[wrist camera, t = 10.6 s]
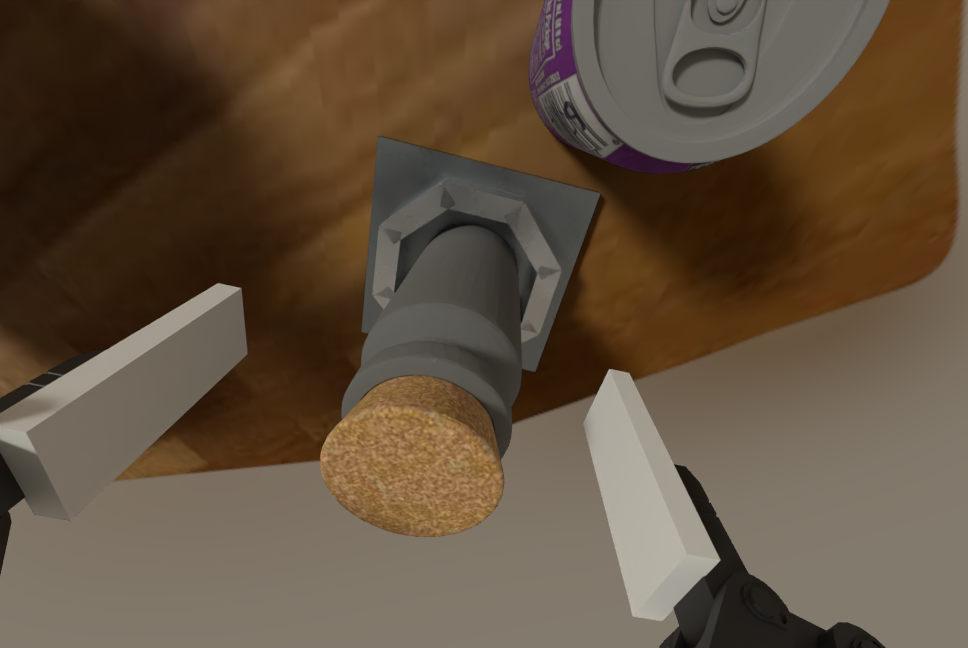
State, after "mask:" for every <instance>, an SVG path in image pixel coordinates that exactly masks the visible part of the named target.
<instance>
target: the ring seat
mask: <svg viewBox="0 0 968 648" xmlns="http://www.w3.org/2000/svg"><path fill="white" fill-rule="evenodd" d="M599 196H600V193H599V192H598V191H594V190H590V189H586V188H582V187H578V186H574V185H570V184H566V183H563V182H559V181H555V180H551V179H547V178H543V177H539V176H535V175H532V174H528V173H524V172H520V171H516V170H512V169H508V168H504V167H500V166H497V165H493V164H489V163H485V162H481V161H477V160H473V159H469V158H465V157H462V156H458V155H454V154H450V153H446V152H442V151H438V150H434V149H430V148H427V147H423V146H419V145H415V144H411V143H407V142H403V141H399V140H395V139H392V138H388V137H384V136H378V141H377V153H376V165H375V177H374V189H373V200H372V212H371V224H370V236H369V248H368V260H367V271H366V283H365V295H364V307H363V319H362V331H361V332H364V333H368V334H369V333H370V331H371V329H372V327H373V325H374V324H375V322H376V321H377V319H378V318H379V316H380V315H381V313H382V312H383V310H384V309H385V307H386V306H387V304H388V303H389V301H390V300H391V298H392V297H393V295H394V294H395V292H396V291H397V289H398V288H399V286H400V285H401V283H402V282H403V280H404V279H405V277H406V276H407V274H408V273H409V271H410V270H411V269H412V267H413V266H414V264H415V263H416V261H417V260H418V258H419V257H420V255H421V254H422V252H423V251H424V250H425V248H426V247H427V246H428V244H429V243H430V242H431V241H432V240H433V239H434V238H435V237H436V236H437V235H438V234H439V233H441V232H442V231H444V230H446V229H448V228H451V227H454V226H458V225H465V224H469V225H477V226H482V227H485V228H488V229H490V230H492V231H493V232H495V233H497V234H498V235H499V236H501V237H502V238H503V239H504V240H505V241H506V242H507V243H508V245H509V246H510V248H511V249H512V251H513V253H514V256H515V258H516V262H517V266H518V277H519V295H520V318H521V344H522V369H525V370H529V371H534V372H535V371H536V368H537V366H538V363H539V360H540V358H541V355H542V352H543V349H544V347H545V344H546V341H547V338H548V336H549V333H550V330H551V327H552V325H553V322H554V319H555V317H556V314H557V311H558V308H559V306H560V303H561V300H562V297H563V295H564V292H565V289H566V286H567V284H568V281H569V278H570V276H571V273H572V270H573V267H574V265H575V262H576V259H577V256H578V254H579V251H580V248H581V245H582V243H583V240H584V237H585V234H586V232H587V229H588V226H589V224H590V221H591V218H592V215H593V213H594V210H595V207H596V204H597V202H598V199H599Z"/></svg>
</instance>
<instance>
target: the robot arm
mask: <svg viewBox="0 0 968 648" xmlns="http://www.w3.org/2000/svg"><path fill="white" fill-rule="evenodd" d="M247 354H248V353H247V342H246V332H245V321H244V311H243V300H242V290H241V288H238V287H234V286H229V285H224V284H220V283H218V284H216V285H214V286H213V287H211V288H209V289H208V290H206V291H204V292H202V293H201V294H199V295H197V296H196V297H194V298H192V299H191V300H189V301H187V302H186V303H184V304H182V305H181V306H179V307H177V308H176V309H174V310H172V311H171V312H169V313H167V314H166V315H164V316H162V317H161V318H159V319H157V320H156V321H154V322H152V323H151V324H149V325H147V326H146V327H144V328H142V329H140V330H139V331H137V332H135V333H134V334H132V335H130V336H129V337H127V338H125V339H124V340H122V341H120V342H119V343H117V344H115V345H114V346H112V347H110V348H109V349H107V350H100V349H97V350H94V351H91V352H88V353H85V354H82V355H79V356H76V357H73V358H70V359H68V360H67V361H65V362H63V363H61V364H60V365H58V366H56V367H54V368H53V369H51V370H49V371H48V373H47V374H42V375H40V376H38V377H37V378H35V379H33V380H31V381H30V382H29V384H28V385H23V386H21V387H19V388H17V389H16V390H14V391H12V392H10V393H8V394H7V395H5V396H3V397H1V398H0V574H1V569H2V565H3V560H4V555H5V550H6V545H7V541H8V536H9V531H10V526H11V518H10V514H9V512H8V510H10V508H12V507H13V506H15V505H16V504H17V503H18V502H20V501H21V500H22V499H23V498H25V500H26V502H27V503H28V505H29V507H30V508H31V510H32V512H33V514H34V515H39V516H45V517H51V518H56V519H62V520H69V521H71V520H72V519H73V518H74V517H75V516H77V514H79V513H80V512H81V511H82V510H83V509H84V508H85V507H86V506H87V505H88V504H89V503H90V502H91V501H92V500H93V499H94V498H96V496H98V495H99V494H100V493H101V492H102V491H103V490H104V489H105V488H106V487H107V486H108V485H109V484H110V483H111V482H113V481H114V480H115V479H116V478H117V477H118V476H119V475H120V474H121V473H122V472H123V471H124V470H125V469H126V468H127V467H128V466H129V465H131V464H132V463H133V462H134V461H135V460H136V459H137V458H138V457H139V456H140V455H141V454H142V453H143V452H144V451H145V450H146V449H148V448H149V447H150V446H151V445H152V444H153V443H154V442H155V441H156V440H157V439H158V438H159V437H160V436H161V435H162V434H163V433H164V432H166V431H167V430H168V429H169V428H170V427H171V426H172V425H173V424H174V423H175V422H176V421H177V420H178V419H179V418H180V417H181V416H182V415H184V414H185V413H186V412H187V411H188V410H189V409H190V408H191V407H192V406H193V405H194V404H195V403H196V402H197V401H198V400H199V399H200V398H202V397H203V396H204V395H205V394H206V393H207V392H208V391H209V390H210V389H211V388H212V387H213V386H214V385H215V384H216V383H217V382H219V381H220V380H221V379H222V378H223V377H224V376H225V375H226V374H227V373H228V372H229V371H230V370H231V369H232V368H233V367H234V366H235V365H237V364H238V363H239V362H240V361H241V360H242V359H243V358H244V357H245V356H246V355H247ZM583 426H584V430H585V434H586V438H587V442H588V445H589V449H590V453H591V457H592V461H593V464H594V469H595V472H596V476H597V480H598V484H599V488H600V492H601V495H602V499H603V503H604V507H605V511H606V514H607V519H608V523H609V526H610V530H611V534H612V538H613V542H614V546H615V550H616V553H617V557H618V561H619V565H620V569H621V572H622V577H623V580H624V584H625V588H626V592H627V596H628V600H629V603H630V607H631V611H632V615H633V616H635V617H640V618H646V619H652V620H658V621H663V620H664V619H665V617H667V616H668V614H669V613H670V612H671V611H672V610H673V609H674V611H675V614H676V617H677V620H678V623H679V627H678V628H677V629H676V630H675V631H674V632H673V633H672V634H671V635H670V636H669V637H668V638H667V639H666V640H664V642H663V643H662V644H661V645H660V648H667V647H668V648H885V647H884V646H883V645H882V644H881V643H880V642H879V641H878V640H877V639H876V638H874V637H873V636H871V635H870V634H869V633H867V632H866V631H864V630H863V629H861V628H860V627H857V626H855V625H852V624H850V623H841V622H839V623H837V624H836V625H834V626H833V627H831V628H830V629H828V630H827V631H826V630H824V629H822V628H820V627H818V626H816V625H814V624H812V623H810V622H808V621H806V620H804V619H802V618H800V617H798V616H796V615H794V614H792V613H790V612H789V610H788V608H787V606H786V605H785V604H784V603H783V602H782V600H781V599H780V597H779V596H778V595H777V594H776V593H775V592H774V591H773V590H772V589H771V588H770V587H769V586H767V584H765V583H764V582H763V581H761V580H759V579H758V578H756V577H754V576H753V575H750V574H749V573H748V572H747V570H746V568H745V566H744V565H743V563H742V561H741V559H740V557H739V555H738V553H737V551H736V549H735V548H734V546H733V544H732V542H731V540H730V538H729V536H728V535H727V533H726V531H725V529H724V527H723V525H722V523H721V522H720V519H719V518H718V517H716V512H715V510H714V508H713V507H712V505H711V503H709V499H708V497H707V495H706V493H705V491H704V490H703V488H702V486H701V484H700V482H699V481H698V480H697V479H696V478H695V477H694V476H693V475H692V474H691V472H690V471H689V470H688V469H687V468H686V467H685V466H679V465H675V464H673V462H672V460H671V458H670V456H669V454H668V452H667V450H666V448H665V446H664V443H663V441H662V439H661V437H660V435H659V433H658V431H657V429H656V427H655V425H654V423H653V421H652V419H651V417H650V415H649V413H648V411H647V409H646V407H645V404H644V402H643V400H642V398H641V396H640V394H639V392H638V390H637V389H636V386H635V384H634V382H633V380H632V378H631V376H630V374H629V373H626V372H622V371H617V370H613V369H609V370H608V372H607V375H606V377H605V379H604V381H603V383H602V385H601V387H600V389H599V391H598V393H597V395H596V397H595V399H594V401H593V403H592V406H591V407H590V410H589V412H588V414H587V416H586V418H585V420H584V422H583Z"/></svg>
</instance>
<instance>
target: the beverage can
mask: <svg viewBox="0 0 968 648" xmlns="http://www.w3.org/2000/svg"><path fill="white" fill-rule="evenodd" d="M889 2H890V0H544V4H543V8H542V11H541V15H540V18H539V22H538V26H537V29H536V33H535V37H534V40H533V44H532V48H531V54H530V61H529V84H530V90H531V95H532V99H533V102H534V105H535V108H536V110H537V113H538V115H539V117H540V118H541V120H542V122H543V123H544V124H545V126H546V127H547V128H548V129H549V131H550V132H551V133H552V134H553V135H554V136H556V137H557V138H558V139H559V140H561V141H562V142H564V143H566V144H567V145H570V146H572V147H574V148H576V149H579V150H581V151H583V152H586V153H588V154H590V155H593V156H595V157H597V158H600V159H602V160H604V161H607V162H609V163H611V164H614V165H617V166H619V167H622V168H625V169H628V170H632V171H636V172H642V173H650V174H672V173H680V172H686V171H691V170H695V169H698V168H702V167H705V166H708V165H710V164H713V163H715V162H718V161H720V160H722V159H726V158H730V157H733V156H736V155H740V154H742V153H745V152H747V151H750V150H752V149H754V148H757V147H759V146H761V145H763V144H765V143H767V142H768V141H770V140H772V139H774V138H775V137H777V136H779V135H780V134H782V133H783V132H785V131H786V130H788V129H789V128H791V127H792V126H793V125H795V124H796V123H798V122H799V121H800V120H801V119H803V118H804V117H805V116H806V115H808V114H809V113H810V112H811V111H812V110H813V109H814V108H815V107H816V106H818V105H819V104H820V103H821V102H822V101H823V100H824V99H825V98H826V97H827V96H828V95H829V94H830V92H831V91H832V90H833V89H834V88H835V87H836V86H837V85H838V84H839V82H840V81H841V80H842V79H843V78H844V76H845V75H846V74H847V73H848V71H849V70H850V69H851V67H852V66H853V65H854V63H855V62H856V61H857V59H858V58H859V56H860V55H861V53H862V52H863V50H864V49H865V47H866V46H867V44H868V42H869V41H870V39H871V37H872V35H873V34H874V32H875V30H876V28H877V27H878V25H879V23H880V21H881V19H882V17H883V15H884V13H885V10H886V8H887V6H888V4H889Z"/></svg>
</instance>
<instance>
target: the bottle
mask: <svg viewBox="0 0 968 648" xmlns="http://www.w3.org/2000/svg"><path fill="white" fill-rule="evenodd" d="M521 377H522V344H521V318H520V295H519V277H518V266H517V262H516V258H515V256H514V253H513V251H512V249H511V248H510V246H509V245H508V243H507V242H506V241H505V240H504V239H503V238H502V237H501V236H499V235H498V234H497V233H495V232H493V231H492V230H490V229H488V228H485V227H482V226H477V225H469V224H465V225H458V226H454V227H451V228H448V229H446V230H444V231H442V232H441V233H439V234H438V235H437V236H436V237H435V238H434V239H433V240H432V241H431V242H430V243H429V244H428V246H427V247H426V248H425V250H424V251H423V252H422V254H421V255H420V257H419V258H418V260H417V261H416V263H415V264H414V266H413V267H412V269H411V270H410V271H409V273H408V274H407V276H406V277H405V279H404V280H403V282H402V283H401V285H400V286H399V288H398V289H397V291H396V292H395V294H394V295H393V297H392V298H391V300H390V301H389V303H388V304H387V306H386V307H385V309H384V310H383V312H382V313H381V315H380V316H379V318H378V319H377V321H376V322H375V324H374V325H373V327H372V329H371V331H370V333H369V334H368V336H367V339H366V341H365V343H364V346H363V350H362V356H361V367H360V369H359V370H358V372H357V373H356V375H355V376H354V378H353V379H352V381H351V383H350V385H349V386H348V388H347V390H346V392H345V395H344V398H343V402H342V408H341V410H342V420H341V421H340V422H339V423H338V424H337V425H336V426H335V428H334V429H333V430H332V431H331V432H330V434H329V435H328V436H327V438H326V441H325V443H324V445H323V447H322V451H321V456H320V468H321V472H322V476H323V479H324V481H325V483H326V486H327V487H328V489H329V490H330V492H331V493H332V494H333V496H334V497H335V498H336V500H337V501H338V502H339V503H340V504H341V505H342V506H343V507H344V508H345V509H346V510H348V511H349V512H351V513H352V514H354V515H355V516H357V517H359V518H360V519H361V520H363V521H365V522H367V523H369V524H371V525H374V526H376V527H378V528H381V529H383V530H387V531H390V532H393V533H397V534H403V535H410V536H416V537H419V536H420V537H436V536H444V535H450V534H455V533H458V532H462V531H465V530H467V529H469V528H472V527H473V526H476V525H478V524H479V523H481V522H482V521H483V520H485V519H486V518H487V517H488V516H489V515H490V514H491V513H492V512H493V511H494V509H495V508H496V507H497V505H498V503H499V501H500V499H501V497H502V494H503V487H504V474H503V468H502V464H501V459H502V457H503V456H504V454H505V452H506V450H507V448H508V446H509V443H510V439H511V432H512V407H511V406H512V405H513V403H514V401H515V399H516V397H517V395H518V393H519V390H520V385H521Z"/></svg>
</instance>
